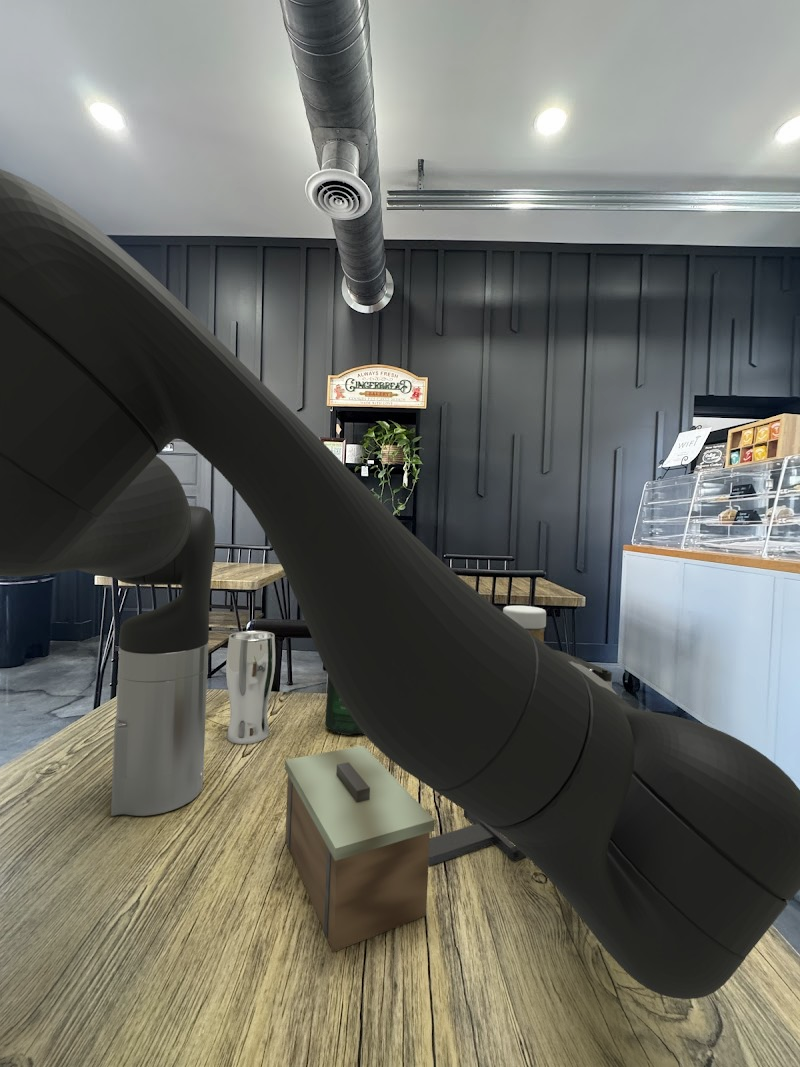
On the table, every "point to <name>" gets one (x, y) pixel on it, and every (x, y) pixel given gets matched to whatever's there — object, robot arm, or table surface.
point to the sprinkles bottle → (528, 619)
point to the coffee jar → (338, 714)
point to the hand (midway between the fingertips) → (517, 656)
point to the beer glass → (249, 684)
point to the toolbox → (357, 844)
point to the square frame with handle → (469, 842)
